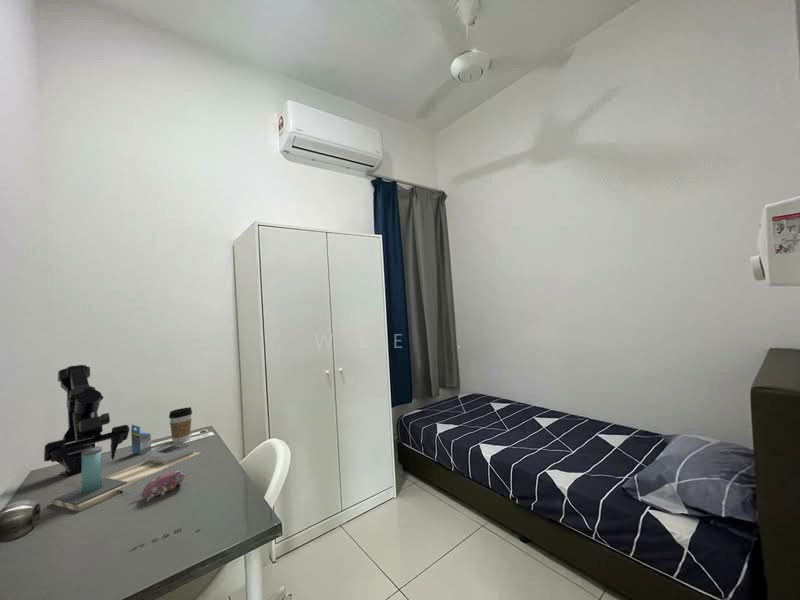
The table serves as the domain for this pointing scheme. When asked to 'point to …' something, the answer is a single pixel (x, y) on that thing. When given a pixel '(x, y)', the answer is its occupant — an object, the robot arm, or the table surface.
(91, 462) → the teal dowel
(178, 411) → the coffee cup
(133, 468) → the birch board
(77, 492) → the dark gray rubber pad
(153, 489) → the video game controller
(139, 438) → the label tape box
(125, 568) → the table surface
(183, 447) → the square metal frame plate
